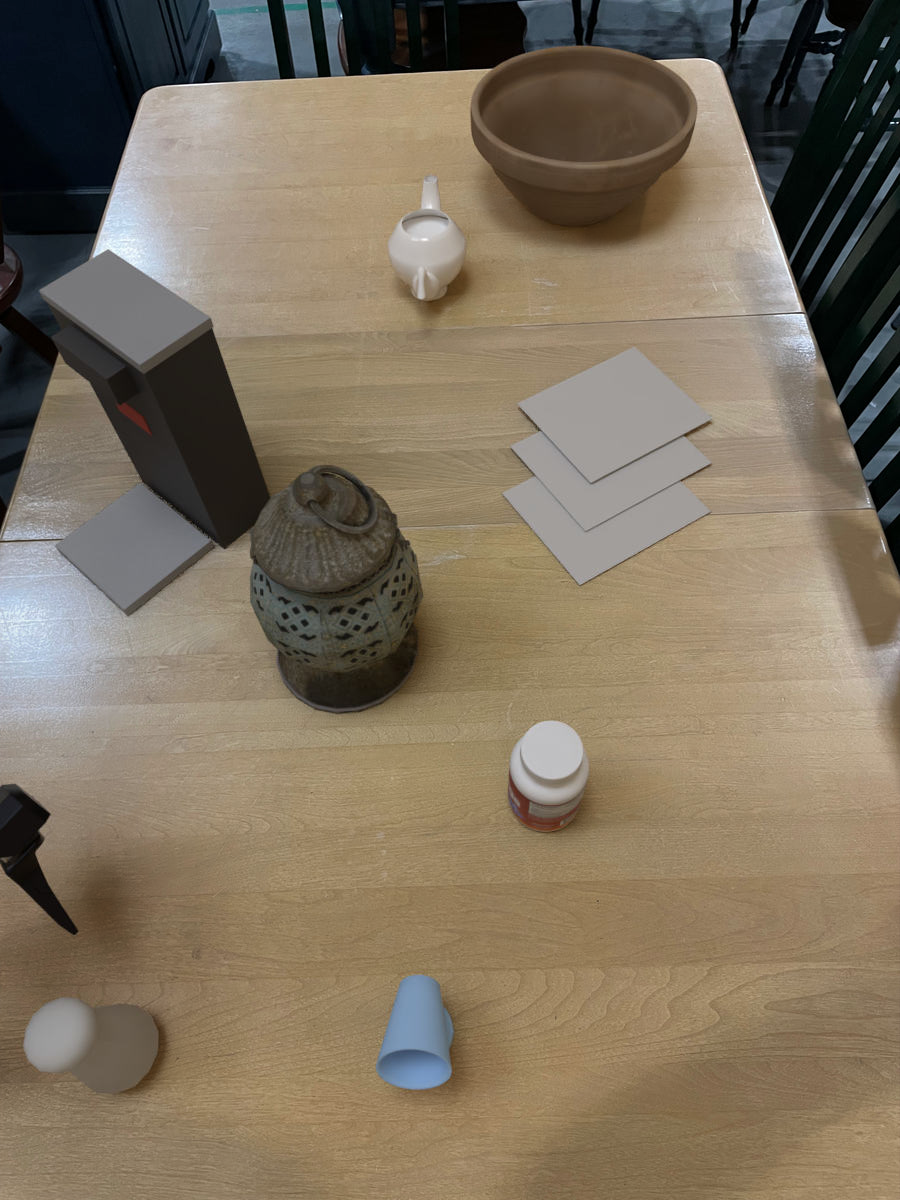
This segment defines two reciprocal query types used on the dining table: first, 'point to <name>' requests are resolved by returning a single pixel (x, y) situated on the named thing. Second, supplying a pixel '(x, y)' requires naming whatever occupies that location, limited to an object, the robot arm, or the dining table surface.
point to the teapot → (427, 246)
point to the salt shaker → (93, 1043)
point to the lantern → (335, 591)
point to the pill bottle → (547, 776)
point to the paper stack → (609, 464)
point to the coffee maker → (155, 428)
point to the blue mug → (417, 1037)
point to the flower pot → (581, 129)
